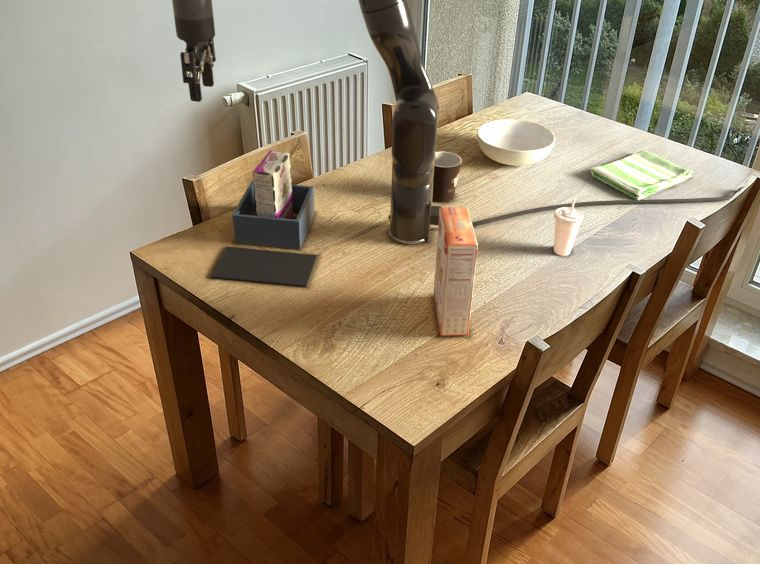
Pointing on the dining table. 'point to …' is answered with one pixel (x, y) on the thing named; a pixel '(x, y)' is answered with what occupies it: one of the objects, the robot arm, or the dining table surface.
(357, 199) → the dining table surface
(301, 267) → the rubber mat
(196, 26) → the robot arm
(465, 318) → the cracker box
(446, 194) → the coffee mug
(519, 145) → the serving bowl
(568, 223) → the smoothie
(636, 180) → the dish towel
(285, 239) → the open storage bin
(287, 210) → the candy bar box
